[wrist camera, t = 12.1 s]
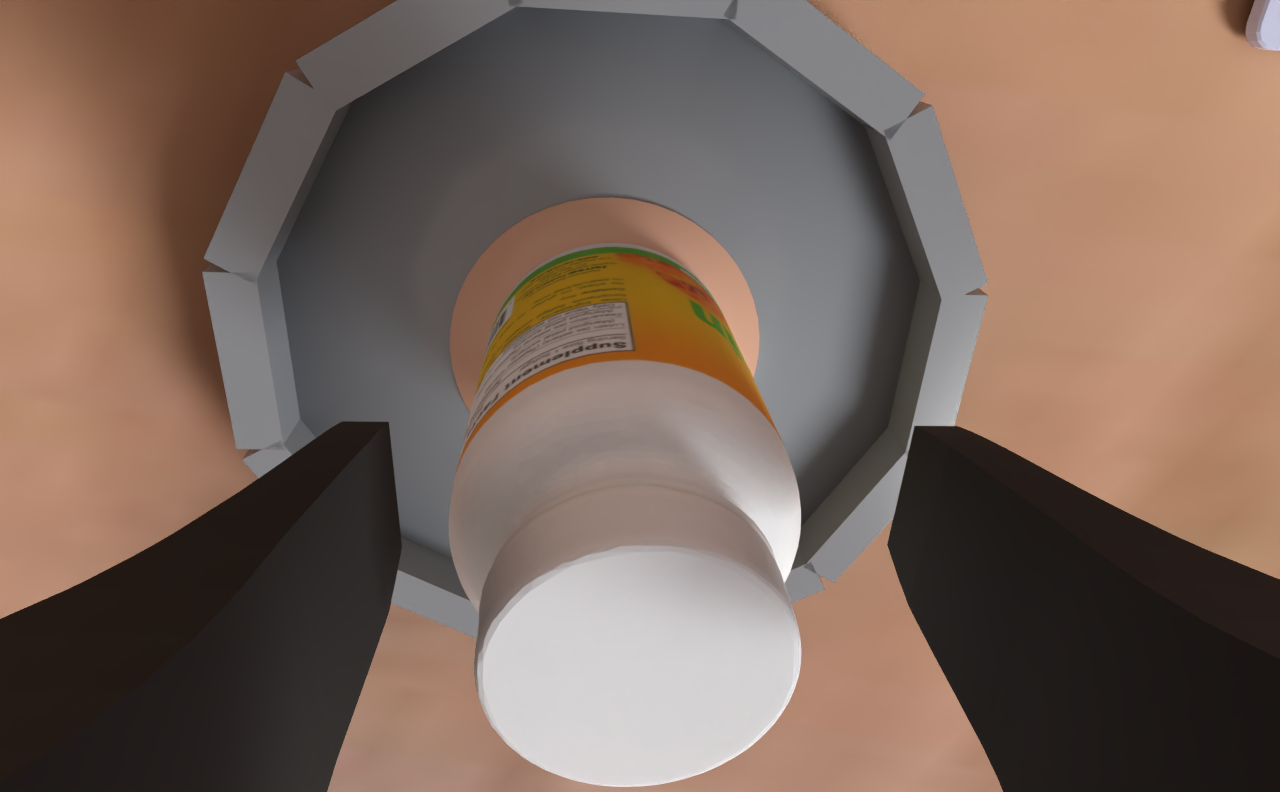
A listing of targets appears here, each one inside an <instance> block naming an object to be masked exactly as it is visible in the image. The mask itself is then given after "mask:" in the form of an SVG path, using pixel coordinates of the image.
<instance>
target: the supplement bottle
mask: <svg viewBox="0 0 1280 792" xmlns="http://www.w3.org/2000/svg"><path fill="white" fill-rule="evenodd" d="M800 530H801V506H800V497H799V490H798V486H797V481H796V477H795V474H794V471H793V468H792V466H791V463H790V460H789V456H788V454H787V451H786V448H785V446H784V443H783V442H782V440H781V438H780V436H779V433H778V431H777V429H776V427H775V425H774V423H773V420H772V418H771V416H770V414H769V412H768V410H767V407H766V405H765V403H764V401H763V399H762V396H761V394H760V392H759V390H758V388H757V386H756V383H755V381H754V379H753V376H752V374H751V371H750V369H749V368H748V366H747V364H746V362H745V360H744V358H743V356H742V354H741V352H740V349H739V347H738V345H737V343H736V341H735V339H734V336H733V334H732V332H731V330H730V328H729V326H728V323H727V321H726V319H725V317H724V315H723V313H722V311H721V309H720V307H719V306H718V304H717V302H716V300H715V298H714V297H713V295H712V294H711V292H710V291H709V290H708V288H707V287H706V286H705V285H704V283H703V282H702V281H701V280H700V279H699V278H698V277H697V276H696V275H695V274H694V273H692V272H691V271H690V270H689V269H688V268H686V267H685V266H684V265H682V264H681V263H679V262H678V261H676V260H674V259H672V258H671V257H669V256H667V255H665V254H663V253H660V252H658V251H655V250H653V249H649V248H646V247H643V246H638V245H633V244H625V243H598V244H591V245H586V246H581V247H577V248H573V249H570V250H567V251H564V252H562V253H560V254H557V255H555V256H553V257H551V258H549V259H547V260H546V261H544V262H542V263H541V264H539V265H538V266H537V267H535V268H534V269H532V270H531V271H530V272H529V273H528V274H527V275H526V276H525V277H523V278H522V279H521V281H520V282H519V283H518V284H517V285H516V286H515V287H514V288H513V290H512V291H511V292H510V294H509V295H508V296H507V298H506V300H505V301H504V303H503V305H502V306H501V308H500V310H499V312H498V314H497V316H496V319H495V321H494V324H493V327H492V329H491V332H490V336H489V340H488V343H487V347H486V351H485V355H484V360H483V364H482V368H481V372H480V377H479V381H478V385H477V389H476V393H475V397H474V400H473V404H472V407H471V412H470V417H469V422H468V426H467V430H466V434H465V438H464V442H463V446H462V450H461V454H460V459H459V463H458V466H457V470H456V473H455V479H454V484H453V489H452V494H451V503H450V510H449V543H450V549H451V554H452V558H453V562H454V565H455V568H456V571H457V574H458V577H459V580H460V582H461V585H462V587H463V589H464V591H465V593H466V595H467V596H468V598H469V599H470V601H471V603H472V604H473V606H474V607H475V609H476V610H477V612H478V613H479V625H478V635H477V643H476V652H475V661H474V675H475V684H476V689H477V693H478V696H479V699H480V702H481V705H482V708H483V711H484V713H485V715H486V716H487V718H488V720H489V722H490V724H491V726H492V727H493V728H494V729H495V731H496V732H497V733H498V734H499V736H500V737H501V738H502V739H503V740H504V741H505V742H506V744H507V745H509V746H510V747H511V748H512V749H513V750H515V751H516V752H517V753H518V754H520V755H521V756H522V757H524V758H525V759H527V760H528V761H530V762H531V763H533V764H535V765H537V766H539V767H541V768H542V769H544V770H546V771H549V772H552V773H554V774H557V775H559V776H562V777H565V778H568V779H571V780H575V781H579V782H583V783H589V784H595V785H601V786H614V787H630V786H650V785H658V784H663V783H668V782H673V781H677V780H682V779H686V778H688V777H691V776H695V775H698V774H701V773H704V772H706V771H708V770H711V769H713V768H715V767H718V766H720V765H721V764H723V763H725V762H727V761H729V760H731V759H733V758H734V757H736V756H737V755H739V754H740V753H742V752H743V751H745V750H746V749H748V748H749V747H750V746H752V745H753V744H754V743H755V742H756V741H757V740H759V739H760V738H761V737H762V736H763V735H764V734H765V733H766V732H767V731H768V730H769V729H770V728H771V727H772V726H773V724H774V723H775V722H776V720H777V719H778V718H779V717H780V715H781V714H782V712H783V710H784V709H785V707H786V706H787V704H788V702H789V700H790V698H791V696H792V694H793V691H794V689H795V686H796V683H797V679H798V676H799V672H800V666H801V641H800V634H799V629H798V624H797V620H796V617H795V614H794V611H793V608H792V605H791V602H790V598H789V594H788V592H787V589H786V586H785V581H786V579H787V577H788V575H789V573H790V571H791V568H792V565H793V562H794V559H795V555H796V552H797V548H798V544H799V538H800Z"/></svg>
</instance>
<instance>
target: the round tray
mask: <svg viewBox="0 0 1280 792" xmlns="http://www.w3.org/2000/svg"><path fill="white" fill-rule="evenodd" d="M296 63H297V64H298V66H299V67H300V68H298V69H294V70H291V71H287V72H285V74H284V76H283V78H282V81H281V83H280V85H279V87H278V90H277V92H276V94H275V97H274V99H273V101H272V103H271V106H270V108H269V110H268V113H267V115H266V117H265V119H264V122H263V124H262V126H261V128H260V131H259V133H258V135H257V138H256V140H255V142H254V144H253V147H252V149H251V151H250V154H249V156H248V158H247V160H246V163H245V165H244V167H243V170H242V172H241V174H240V176H239V179H238V181H237V183H236V185H235V188H234V190H233V192H232V195H231V197H230V199H229V201H228V204H227V206H226V208H225V211H224V213H223V215H222V217H221V220H220V222H219V224H218V226H217V229H216V231H215V233H214V236H213V238H212V240H211V242H210V245H209V247H208V249H207V252H206V254H205V256H204V258H203V259H205V260H207V261H209V262H211V263H213V264H212V265H210V266H209V267H208V268H206V269H205V270H204V271H203V272H202V274H203V279H204V284H205V289H206V295H207V300H208V305H209V310H210V315H211V320H212V325H213V331H214V336H215V341H216V346H217V351H218V356H219V362H220V367H221V372H222V377H223V382H224V387H225V392H226V398H227V403H228V408H229V413H230V418H231V423H232V428H233V434H234V439H235V444H236V449H249V451H248V452H247V453H246V455H245V456H244V458H243V459H242V460H243V461H244V463H245V464H246V465H247V466H248V467H249V468H250V469H251V470H252V472H253V473H254V474H255V475H256V476H257V477H258V478H260V477H261V476H263V475H264V474H266V473H267V472H269V471H270V470H271V469H273V468H274V467H276V466H277V465H279V464H280V463H282V462H283V461H284V460H286V459H287V458H289V457H290V456H291V455H293V454H294V453H296V452H297V451H298V450H300V449H301V448H303V447H304V446H305V445H307V444H308V443H310V442H311V441H312V440H314V439H315V438H317V437H318V436H320V435H321V434H322V433H324V432H325V431H327V430H328V429H330V428H332V427H333V426H335V425H337V424H338V423H340V422H342V421H355V422H389V429H390V438H391V448H392V457H393V466H394V476H395V485H396V494H397V504H398V513H399V523H400V532H401V541H402V550H401V555H400V561H399V566H398V571H397V576H396V581H395V586H394V591H393V595H392V600H391V603H392V604H395V605H397V606H400V607H402V608H404V609H407V610H409V611H412V612H414V613H416V614H419V615H421V616H424V617H426V618H428V619H431V620H433V621H436V622H438V623H441V624H443V625H445V626H448V627H450V628H453V629H455V630H457V631H460V632H462V633H465V634H467V635H469V636H472V637H474V638H477V635H478V625H479V613H478V612H477V610H476V609H475V607H474V606H473V604H472V603H471V601H470V599H469V598H468V596H467V595H466V593H465V591H464V589H463V587H462V585H461V582H460V580H459V577H458V574H457V571H456V568H455V565H454V562H453V558H452V554H451V549H450V543H449V510H450V503H451V494H452V489H453V484H454V479H455V473H456V470H457V466H458V463H459V459H460V454H461V450H462V446H463V442H464V438H465V434H466V430H467V426H468V422H469V417H470V412H471V407H472V404H473V400H474V397H475V393H476V389H477V385H478V381H479V377H480V372H481V368H482V364H483V360H484V355H485V351H486V347H487V343H488V340H489V336H490V332H491V329H492V327H493V324H494V321H495V319H496V316H497V314H498V312H499V310H500V308H501V306H502V305H503V303H504V301H505V300H506V298H507V296H508V295H509V294H510V292H511V291H512V290H513V288H514V287H515V286H516V285H517V284H518V283H519V282H520V281H521V279H522V278H523V277H525V276H526V275H527V274H528V273H529V272H530V271H531V270H532V269H534V268H535V267H537V266H538V265H539V264H541V263H542V262H544V261H546V260H547V259H549V258H551V257H553V256H555V255H557V254H560V253H562V252H564V251H567V250H570V249H573V248H577V247H581V246H586V245H591V244H598V243H625V244H633V245H638V246H643V247H646V248H649V249H653V250H655V251H658V252H660V253H663V254H665V255H667V256H669V257H671V258H672V259H674V260H676V261H678V262H679V263H681V264H682V265H684V266H685V267H686V268H688V269H689V270H690V271H691V272H692V273H694V274H695V275H696V276H697V277H698V278H699V279H700V280H701V281H702V282H703V283H704V285H705V286H706V287H707V288H708V290H709V291H710V292H711V294H712V295H713V297H714V298H715V300H716V302H717V304H718V306H719V307H720V309H721V311H722V313H723V315H724V317H725V319H726V321H727V323H728V326H729V328H730V330H731V332H732V334H733V336H734V339H735V341H736V343H737V345H738V347H739V349H740V352H741V354H742V356H743V358H744V360H745V362H746V364H747V366H748V368H749V369H750V371H751V374H752V376H753V379H754V381H755V383H756V386H757V388H758V390H759V392H760V394H761V396H762V399H763V401H764V403H765V405H766V407H767V410H768V412H769V414H770V416H771V418H772V420H773V423H774V425H775V427H776V429H777V431H778V433H779V436H780V438H781V440H782V442H783V443H784V446H785V448H786V451H787V454H788V456H789V460H790V463H791V466H792V468H793V471H794V474H795V477H796V481H797V486H798V490H799V497H800V506H801V530H800V538H799V544H798V548H797V552H796V555H795V559H794V562H793V565H792V568H791V571H790V573H789V575H788V577H787V579H786V581H785V586H786V589H787V592H788V594H789V598H790V602H791V603H794V602H796V601H798V600H801V599H803V598H805V597H808V596H810V595H812V594H815V593H817V592H819V591H822V590H824V589H825V588H824V585H823V583H822V580H821V578H820V576H821V577H823V578H825V579H827V580H829V581H831V582H833V583H834V582H835V581H836V580H837V579H838V578H839V577H840V576H841V575H842V573H843V572H844V571H845V570H846V569H847V568H848V567H849V566H850V565H851V564H852V563H853V561H854V560H855V559H856V558H857V557H858V556H859V555H860V554H861V553H862V552H863V551H864V550H865V548H866V547H867V546H868V545H869V544H870V543H871V542H872V541H873V540H874V539H875V538H876V536H877V535H878V534H879V533H880V532H881V531H882V530H883V529H884V528H885V527H886V526H887V524H888V523H889V522H890V521H891V520H892V519H893V518H894V514H895V509H896V505H897V501H898V496H899V492H900V487H901V483H902V479H903V474H904V470H905V466H906V461H907V457H908V452H909V448H910V444H911V439H912V435H913V430H914V426H954V424H955V420H956V417H957V413H958V409H959V405H960V401H961V398H962V394H963V390H964V386H965V382H966V378H967V375H968V371H969V367H970V363H971V359H972V356H973V352H974V348H975V344H976V340H977V337H978V333H979V329H980V325H981V321H982V318H983V314H984V310H985V306H986V302H987V299H988V295H987V294H986V293H984V292H983V291H982V290H980V289H979V288H980V287H982V286H984V285H986V284H988V281H987V278H986V275H985V272H984V268H983V265H982V262H981V259H980V256H979V252H978V249H977V246H976V243H975V240H974V236H973V233H972V230H971V227H970V224H969V220H968V217H967V214H966V211H965V208H964V204H963V201H962V198H961V195H960V192H959V188H958V185H957V182H956V179H955V175H954V172H953V169H952V166H951V163H950V159H949V156H948V153H947V150H946V147H945V143H944V140H943V137H942V134H941V131H940V127H939V124H938V121H937V118H936V115H935V111H934V108H933V106H932V105H929V104H926V103H923V102H920V100H921V99H922V97H923V96H924V95H925V94H924V93H923V92H922V91H920V90H919V89H918V88H916V87H915V86H914V85H913V84H911V83H910V82H909V81H908V80H906V79H905V78H904V77H903V76H901V75H900V74H899V73H897V72H896V71H895V70H894V69H892V68H891V67H890V66H889V65H887V64H886V63H885V62H884V61H882V60H881V59H880V58H878V57H877V56H876V55H875V54H873V53H872V52H871V51H870V50H868V49H867V48H866V47H865V46H863V45H862V44H861V43H859V42H858V41H857V40H856V39H854V38H853V37H852V36H851V35H849V34H848V33H847V32H846V31H844V30H843V29H842V28H840V27H839V26H838V25H837V24H835V23H834V22H833V21H832V20H830V19H829V18H828V17H827V16H825V15H824V14H823V13H821V12H820V11H819V10H818V9H816V8H815V7H814V6H813V5H811V4H810V3H809V2H807V1H806V0H397V1H395V2H393V3H392V4H390V5H388V6H387V7H385V8H383V9H381V10H380V11H378V12H376V13H375V14H373V15H371V16H370V17H368V18H366V19H365V20H363V21H361V22H360V23H358V24H356V25H355V26H353V27H351V28H350V29H348V30H346V31H344V32H343V33H341V34H339V35H338V36H336V37H334V38H333V39H331V40H329V41H328V42H326V43H324V44H323V45H321V46H319V47H318V48H316V49H314V50H312V51H311V52H309V53H307V54H306V55H304V56H302V57H301V58H299V59H297V60H296Z"/></svg>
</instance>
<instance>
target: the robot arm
mask: <svg viewBox="0 0 1280 792" xmlns="http://www.w3.org/2000/svg"><path fill="white" fill-rule="evenodd" d="M1245 33H1246V38H1247V41H1248V42H1249V44H1250V45H1251V46H1252V47H1254V48H1257V49H1262V50H1275V51H1280V0H1255V1H1254V4H1253V7H1252V10H1251V12H1250V15H1249V18H1248V21H1247V25H1246V31H1245ZM887 545H888V548H889V551H890V554H891V557H892V560H893V563H894V566H895V569H896V572H897V575H898V578H899V581H900V584H901V586H902V589H903V592H904V594H905V597H906V600H907V602H908V605H909V607H910V609H911V611H912V613H913V615H914V617H915V619H916V621H917V623H918V625H919V627H920V629H921V631H922V633H923V635H924V637H925V638H926V640H927V642H928V644H929V646H930V648H931V650H932V652H933V654H934V656H935V658H936V659H937V661H938V663H939V665H940V667H941V669H942V671H943V673H944V674H945V676H946V678H947V680H948V682H949V684H950V686H951V688H952V689H953V691H954V693H955V695H956V697H957V699H958V701H959V703H960V704H961V706H962V708H963V710H964V712H965V714H966V716H967V718H968V719H969V721H970V723H971V725H972V727H973V729H974V731H975V733H976V735H977V736H978V738H979V740H980V742H981V744H982V746H983V748H984V750H985V752H986V754H987V756H988V758H989V761H990V763H991V765H992V767H993V769H994V771H995V773H996V775H997V777H998V780H999V782H1000V785H1001V787H1002V790H1003V792H1280V579H1277V578H1274V577H1272V576H1269V575H1267V574H1264V573H1262V572H1259V571H1257V570H1255V569H1252V568H1250V567H1247V566H1245V565H1242V564H1240V563H1237V562H1235V561H1233V560H1230V559H1228V558H1225V557H1223V556H1220V555H1218V554H1215V553H1213V552H1211V551H1208V550H1206V549H1204V548H1201V547H1199V546H1197V545H1195V544H1192V543H1190V542H1188V541H1186V540H1183V539H1181V538H1179V537H1177V536H1175V535H1172V534H1170V533H1168V532H1166V531H1164V530H1162V529H1160V528H1158V527H1156V526H1154V525H1152V524H1150V523H1148V522H1145V521H1143V520H1141V519H1139V518H1137V517H1135V516H1133V515H1131V514H1129V513H1127V512H1125V511H1123V510H1121V509H1119V508H1117V507H1115V506H1113V505H1111V504H1109V503H1107V502H1105V501H1103V500H1101V499H1099V498H1097V497H1096V496H1094V495H1092V494H1090V493H1088V492H1086V491H1084V490H1082V489H1080V488H1078V487H1077V486H1075V485H1073V484H1071V483H1069V482H1067V481H1065V480H1063V479H1062V478H1060V477H1058V476H1056V475H1054V474H1052V473H1050V472H1049V471H1047V470H1045V469H1043V468H1041V467H1039V466H1037V465H1036V464H1034V463H1032V462H1030V461H1028V460H1026V459H1024V458H1023V457H1021V456H1019V455H1017V454H1015V453H1013V452H1011V451H1009V450H1008V449H1006V448H1004V447H1002V446H1000V445H998V444H996V443H994V442H992V441H990V440H988V439H986V438H984V437H982V436H980V435H977V434H975V433H973V432H971V431H968V430H966V429H963V428H961V427H958V426H914V430H913V435H912V439H911V444H910V448H909V452H908V457H907V461H906V466H905V470H904V474H903V479H902V483H901V487H900V492H899V496H898V501H897V505H896V509H895V514H894V518H893V523H892V527H891V531H890V536H889V540H888V544H887ZM401 550H402V541H401V532H400V523H399V513H398V504H397V494H396V485H395V476H394V466H393V457H392V448H391V438H390V429H389V422H355V421H342V422H340V423H338V424H337V425H335V426H333V427H332V428H330V429H328V430H327V431H325V432H324V433H322V434H321V435H320V436H318V437H317V438H315V439H314V440H312V441H311V442H310V443H308V444H307V445H305V446H304V447H303V448H301V449H300V450H298V451H297V452H296V453H294V454H293V455H291V456H290V457H289V458H287V459H286V460H284V461H283V462H282V463H280V464H279V465H277V466H276V467H274V468H273V469H271V470H270V471H269V472H267V473H266V474H264V475H263V476H261V477H260V478H259V479H257V480H256V481H254V482H253V483H251V484H250V485H249V486H247V487H246V488H244V489H243V490H241V491H240V492H238V493H237V494H235V495H234V496H232V497H230V498H229V499H227V500H226V501H224V502H223V503H221V504H219V505H218V506H216V507H215V508H213V509H211V510H210V511H208V512H207V513H205V514H204V515H202V516H200V517H199V518H197V519H196V520H194V521H192V522H191V523H189V524H188V525H186V526H185V527H183V528H181V529H180V530H178V531H177V532H175V533H173V534H172V535H170V536H168V537H167V538H165V539H163V540H161V541H160V542H158V543H156V544H154V545H153V546H151V547H149V548H147V549H145V550H144V551H142V552H140V553H138V554H136V555H135V556H133V557H131V558H129V559H127V560H125V561H123V562H121V563H119V564H117V565H115V566H113V567H111V568H110V569H108V570H106V571H104V572H102V573H100V574H98V575H96V576H94V577H92V578H90V579H88V580H86V581H84V582H82V583H80V584H78V585H76V586H74V587H72V588H70V589H67V590H65V591H63V592H61V593H58V594H56V595H54V596H52V597H49V598H47V599H45V600H42V601H40V602H38V603H36V604H33V605H31V606H29V607H27V608H24V609H22V610H20V611H17V612H15V613H13V614H11V615H8V616H6V617H4V618H2V619H0V792H327V790H328V787H329V783H330V780H331V777H332V774H333V770H334V767H335V764H336V761H337V758H338V755H339V752H340V749H341V747H342V744H343V741H344V738H345V735H346V732H347V730H348V727H349V724H350V721H351V718H352V716H353V713H354V710H355V707H356V704H357V702H358V699H359V696H360V693H361V690H362V688H363V685H364V682H365V679H366V676H367V674H368V671H369V668H370V665H371V662H372V659H373V657H374V654H375V651H376V648H377V645H378V642H379V639H380V636H381V634H382V631H383V628H384V625H385V622H386V619H387V616H388V613H389V609H390V605H391V600H392V595H393V591H394V586H395V581H396V576H397V571H398V566H399V561H400V555H401Z"/></svg>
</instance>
